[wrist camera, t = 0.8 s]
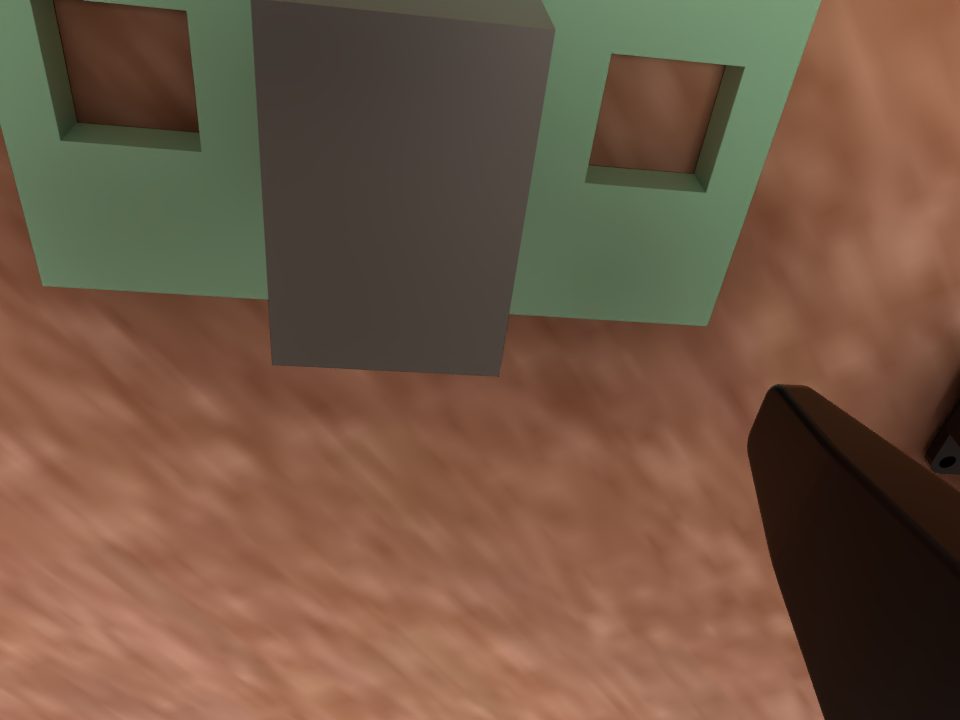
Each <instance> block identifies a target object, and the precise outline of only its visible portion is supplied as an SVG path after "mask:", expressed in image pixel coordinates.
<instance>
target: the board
mask: <svg viewBox="0 0 960 720" xmlns="http://www.w3.org/2000/svg"><path fill="white" fill-rule="evenodd" d="M85 1H95V2H105V3H115V4H125V5H135V6H145V7H155V8H165V9H175V10H185V11H187V20H188V30H189V39H190V49H191V58H192V67H193V77H194V86H195V96H196V105H197V115H198V124H199V133H196V132H184V131H172V130H160V129H149V128H137V127H125V126H113V125H101V124H89V123H77V119H76V114H75V109H74V104H73V99H72V94H71V89H70V84H69V79H68V74H67V69H66V64H65V59H64V54H63V49H62V44H61V39H60V35H59V30H58V25H57V20H56V15H55V10H54V5H53V0H0V125H1V129H2V132H3V136H4V140H5V144H6V148H7V152H8V155H9V159H10V163H11V167H12V171H13V174H14V178H15V182H16V186H17V190H18V194H19V197H20V201H21V205H22V209H23V213H24V216H25V220H26V224H27V228H28V232H29V236H30V239H31V243H32V247H33V251H34V255H35V258H36V262H37V266H38V270H39V274H40V278H41V281H42V285H43V286H51V287H68V288H84V289H101V290H117V291H134V292H150V293H167V294H183V295H200V296H216V297H233V298H249V299H266V300H268V304H269V321H270V338H271V355H272V365H283V366H303V367H322V368H342V369H361V370H381V371H400V372H420V373H439V374H459V375H478V376H498V377H499V374H500V367H501V361H502V355H503V349H504V343H505V337H506V331H507V324H508V318H509V314H514V315H530V316H547V317H563V318H580V319H596V320H613V321H629V322H646V323H662V324H679V325H695V326H707V325H708V323H709V320H710V317H711V314H712V311H713V308H714V306H715V303H716V300H717V297H718V294H719V291H720V288H721V286H722V283H723V280H724V277H725V274H726V271H727V268H728V266H729V263H730V260H731V257H732V254H733V251H734V248H735V246H736V243H737V240H738V237H739V234H740V231H741V228H742V226H743V223H744V220H745V217H746V214H747V211H748V208H749V206H750V203H751V200H752V197H753V194H754V191H755V188H756V186H757V183H758V180H759V177H760V174H761V171H762V168H763V166H764V163H765V160H766V157H767V154H768V151H769V149H770V146H771V143H772V140H773V137H774V134H775V131H776V129H777V126H778V123H779V120H780V117H781V114H782V111H783V109H784V106H785V103H786V100H787V97H788V94H789V91H790V89H791V86H792V83H793V80H794V77H795V74H796V71H797V69H798V66H799V63H800V60H801V57H802V54H803V51H804V49H805V46H806V43H807V40H808V37H809V34H810V31H811V29H812V26H813V23H814V20H815V17H816V14H817V12H818V9H819V6H820V3H821V0H85ZM611 53H613V54H622V55H632V56H642V57H652V58H662V59H672V60H682V61H692V62H702V63H712V64H722V65H726V67H725V71H724V74H723V78H722V81H721V84H720V88H719V91H718V94H717V98H716V101H715V105H714V108H713V111H712V115H711V118H710V122H709V125H708V128H707V132H706V135H705V138H704V142H703V145H702V149H701V152H700V155H699V159H698V162H697V165H696V169H695V172H694V174H688V173H676V172H664V171H652V170H640V169H628V168H616V167H604V166H592V165H588V164H589V159H590V155H591V150H592V145H593V140H594V135H595V131H596V126H597V121H598V116H599V111H600V106H601V102H602V97H603V92H604V87H605V82H606V78H607V73H608V68H609V63H610V58H611Z"/></svg>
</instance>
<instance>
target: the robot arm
mask: <svg viewBox="0 0 960 720" xmlns="http://www.w3.org/2000/svg"><path fill="white" fill-rule="evenodd" d="M747 451H748V457H749V462H750V467H751V471H752V476H753V481H754V485H755V490H756V494H757V499H758V504H759V508H760V513H761V517H762V522H763V527H764V531H765V536H766V540H767V545H768V549H769V553H770V557H771V561H772V565H773V568H774V571H775V575H776V578H777V581H778V584H779V587H780V590H781V593H782V596H783V599H784V602H785V605H786V608H787V610H788V613H789V616H790V619H791V622H792V625H793V628H794V631H795V634H796V637H797V640H798V643H799V646H800V649H801V652H802V655H803V657H804V660H805V663H806V666H807V669H808V672H809V675H810V678H811V681H812V684H813V687H814V690H815V693H816V696H817V699H818V702H819V704H820V707H821V710H822V713H823V716H824V719H825V720H960V491H958V490H957V489H955V488H954V487H952V486H951V485H950V484H948V483H947V482H945V481H944V480H942V479H941V478H940V477H938V476H937V475H935V474H934V473H932V472H931V471H929V470H928V469H927V468H925V467H924V466H922V465H921V464H919V463H918V462H916V461H915V460H914V459H912V458H911V457H909V456H908V455H906V454H905V453H904V452H902V451H901V450H899V449H898V448H896V447H895V446H893V445H892V444H891V443H889V442H888V441H886V440H885V439H883V438H882V437H881V436H879V435H878V434H876V433H875V432H873V431H872V430H870V429H869V428H868V427H866V426H865V425H863V424H862V423H860V422H859V421H857V420H856V419H855V418H853V417H852V416H850V415H849V414H847V413H846V412H845V411H843V410H842V409H840V408H839V407H837V406H836V405H834V404H833V403H832V402H830V401H829V400H827V399H826V398H824V397H823V396H822V395H820V394H819V393H817V392H816V391H814V390H813V389H811V388H810V387H807V386H803V385H785V384H777V385H774V386H772V387H771V388H770V389H769V390H768V392H767V393H766V395H765V398H764V400H763V402H762V405H761V407H760V409H759V412H758V414H757V416H756V419H755V421H754V424H753V426H752V428H751V431H750V433H749V437H748V443H747ZM924 457H925V461H926V462H927V464H928V465H929V467H930V468H931V469H932V470H933V471H934V472H935V473H941V474H960V399H959V401H958V402H957V404H956V405H955V407H954V409H953V410H952V412H951V413H950V415H949V416H948V418H947V420H946V421H945V423H944V424H943V426H942V428H941V429H940V431H939V432H938V434H937V436H936V437H935V439H934V440H933V442H932V443H931V445H930V447H929V448H928V450H927V451H926V454H925V456H924Z"/></svg>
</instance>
